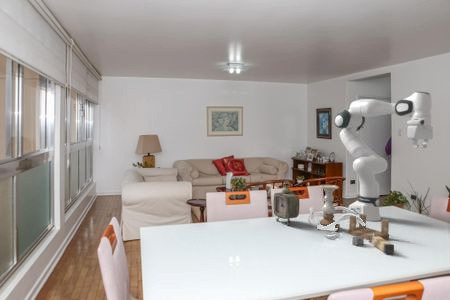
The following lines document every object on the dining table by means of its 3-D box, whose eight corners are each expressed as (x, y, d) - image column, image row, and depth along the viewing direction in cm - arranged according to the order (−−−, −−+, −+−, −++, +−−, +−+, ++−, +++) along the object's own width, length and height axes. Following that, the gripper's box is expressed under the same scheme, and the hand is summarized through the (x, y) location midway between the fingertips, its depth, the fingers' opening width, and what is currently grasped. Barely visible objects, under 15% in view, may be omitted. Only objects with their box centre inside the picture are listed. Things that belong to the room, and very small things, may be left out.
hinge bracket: (367, 242, 161) (368, 232, 160) (372, 241, 162) (372, 231, 162) (374, 244, 157) (375, 234, 157) (378, 243, 159) (379, 233, 159)
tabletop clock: (273, 220, 199) (273, 179, 197) (285, 219, 202) (286, 178, 201) (287, 226, 186) (288, 183, 184) (300, 225, 189) (301, 182, 188)
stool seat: (348, 233, 174) (348, 216, 174) (361, 230, 180) (362, 213, 179) (375, 242, 161) (376, 223, 160) (389, 238, 166) (389, 220, 166)
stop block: (352, 244, 157) (352, 237, 157) (359, 242, 159) (359, 235, 159) (356, 246, 155) (357, 238, 154) (363, 244, 157) (363, 237, 157)
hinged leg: (369, 242, 159) (369, 234, 159) (377, 242, 159) (377, 234, 159) (385, 253, 144) (385, 245, 144) (393, 253, 144) (394, 245, 144)
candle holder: (316, 229, 181) (317, 186, 180) (320, 224, 191) (321, 183, 190) (336, 232, 176) (337, 188, 175) (339, 227, 186) (341, 185, 185)
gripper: (424, 122, 183) (423, 147, 184) (405, 121, 172) (404, 147, 173) (436, 122, 178) (435, 147, 179) (417, 121, 167) (417, 148, 167)
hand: (420, 147), depth 176 cm, fingers open, 8 cm apart
